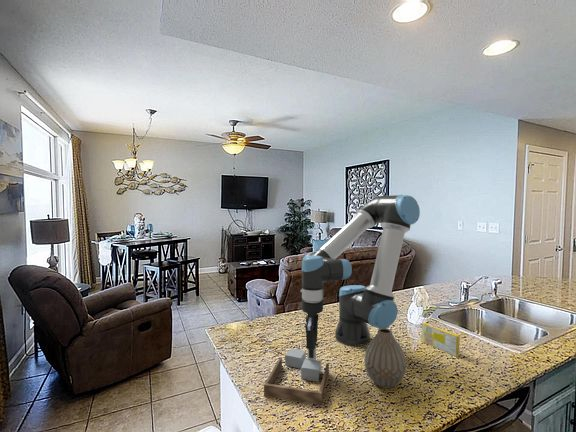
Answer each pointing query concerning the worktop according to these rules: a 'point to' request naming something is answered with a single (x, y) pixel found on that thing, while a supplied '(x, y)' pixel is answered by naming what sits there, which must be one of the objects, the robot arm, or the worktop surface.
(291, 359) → the tile
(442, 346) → the candy box
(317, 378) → the light grey square block
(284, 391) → the frame
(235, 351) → the worktop surface
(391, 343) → the vase
